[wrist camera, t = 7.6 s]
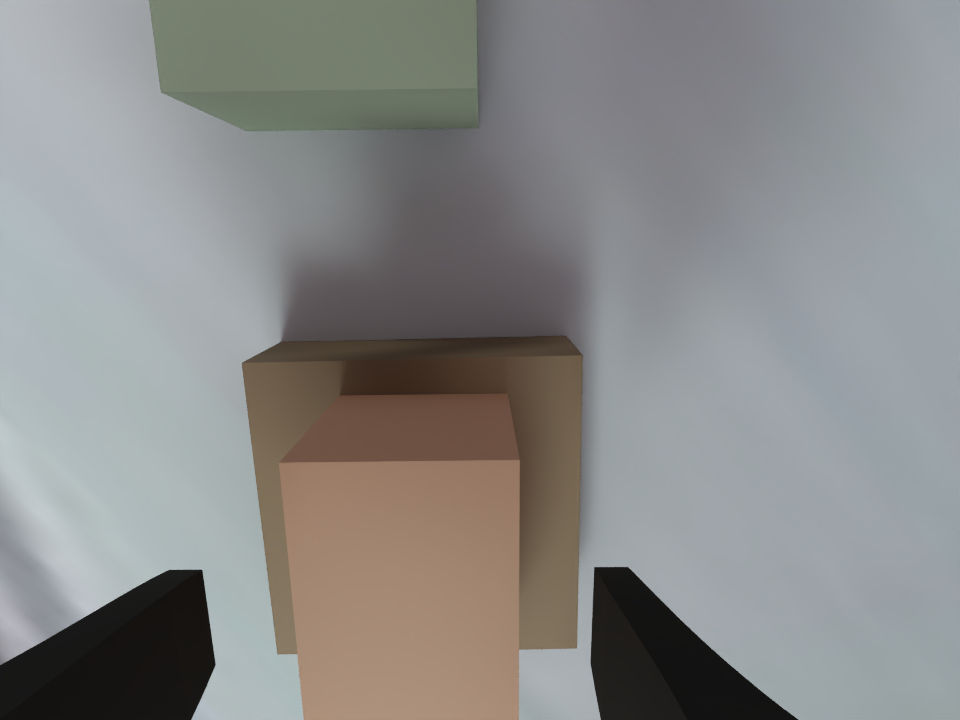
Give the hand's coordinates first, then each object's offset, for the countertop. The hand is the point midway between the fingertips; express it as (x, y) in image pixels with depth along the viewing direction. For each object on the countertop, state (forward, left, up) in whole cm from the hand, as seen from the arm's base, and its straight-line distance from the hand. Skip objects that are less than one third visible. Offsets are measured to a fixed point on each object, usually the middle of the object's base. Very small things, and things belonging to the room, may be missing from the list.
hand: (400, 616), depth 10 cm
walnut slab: (0, 0, -7) cm, 7 cm away
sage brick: (+2, -11, -7) cm, 13 cm away
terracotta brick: (0, 0, -4) cm, 4 cm away
